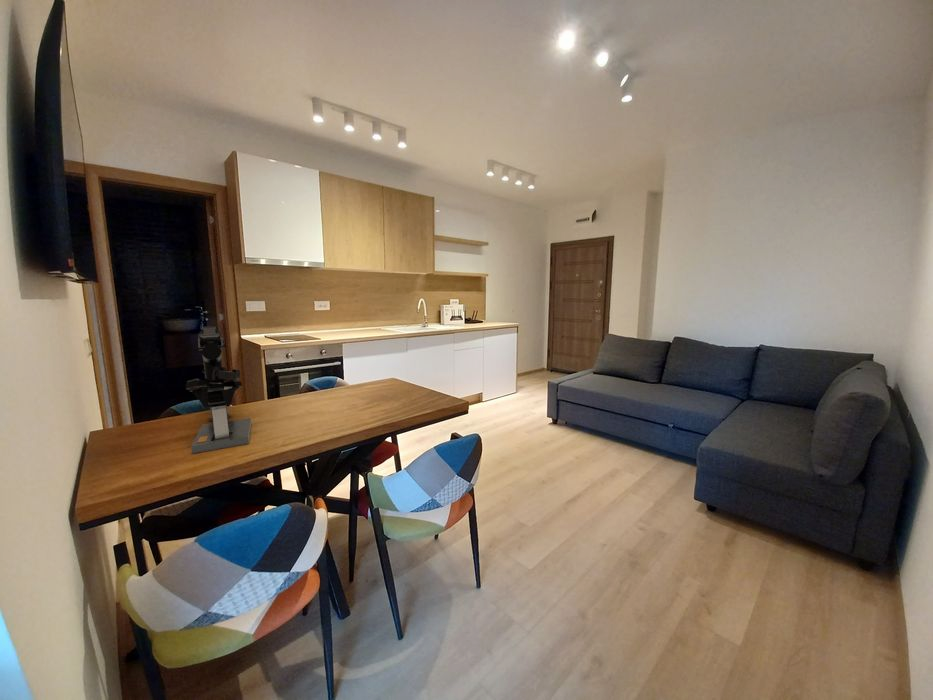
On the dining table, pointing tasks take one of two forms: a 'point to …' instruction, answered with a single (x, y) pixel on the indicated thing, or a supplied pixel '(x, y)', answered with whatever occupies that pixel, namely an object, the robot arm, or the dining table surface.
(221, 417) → the steel peg
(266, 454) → the dining table surface
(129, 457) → the dining table surface
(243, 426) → the flange plate
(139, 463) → the dining table surface
